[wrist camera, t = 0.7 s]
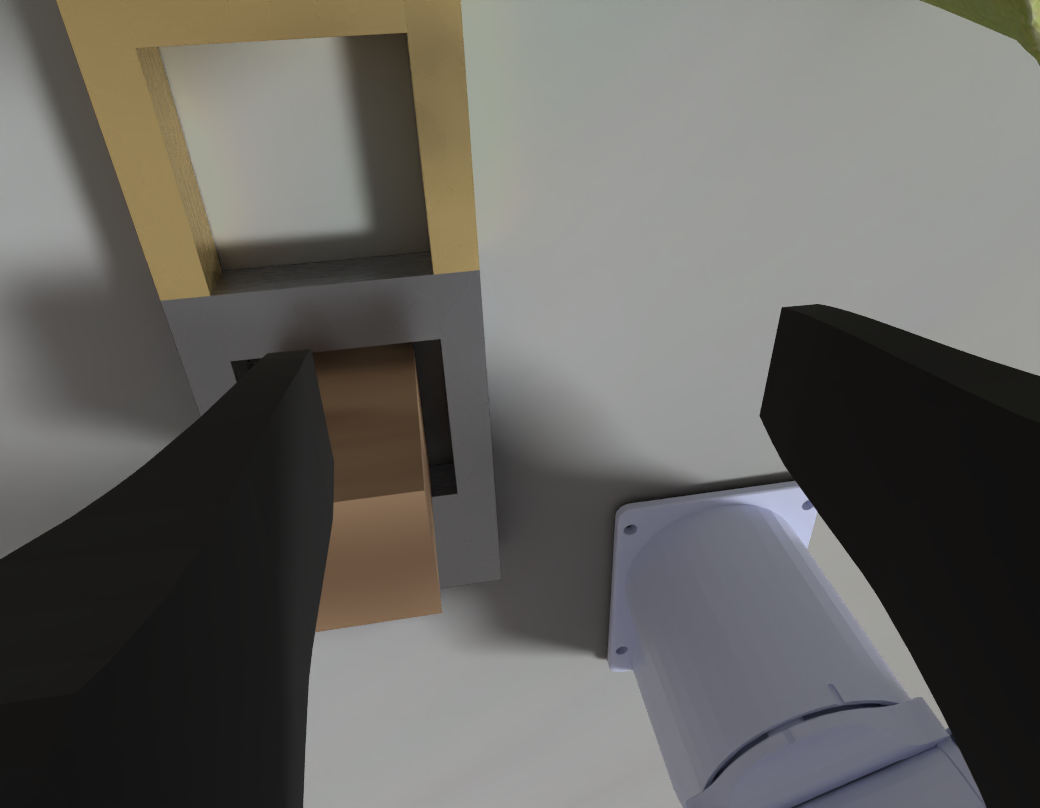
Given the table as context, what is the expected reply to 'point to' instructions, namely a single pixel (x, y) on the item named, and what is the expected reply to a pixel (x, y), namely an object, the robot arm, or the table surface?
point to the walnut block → (377, 489)
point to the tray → (322, 285)
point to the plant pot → (1002, 18)
